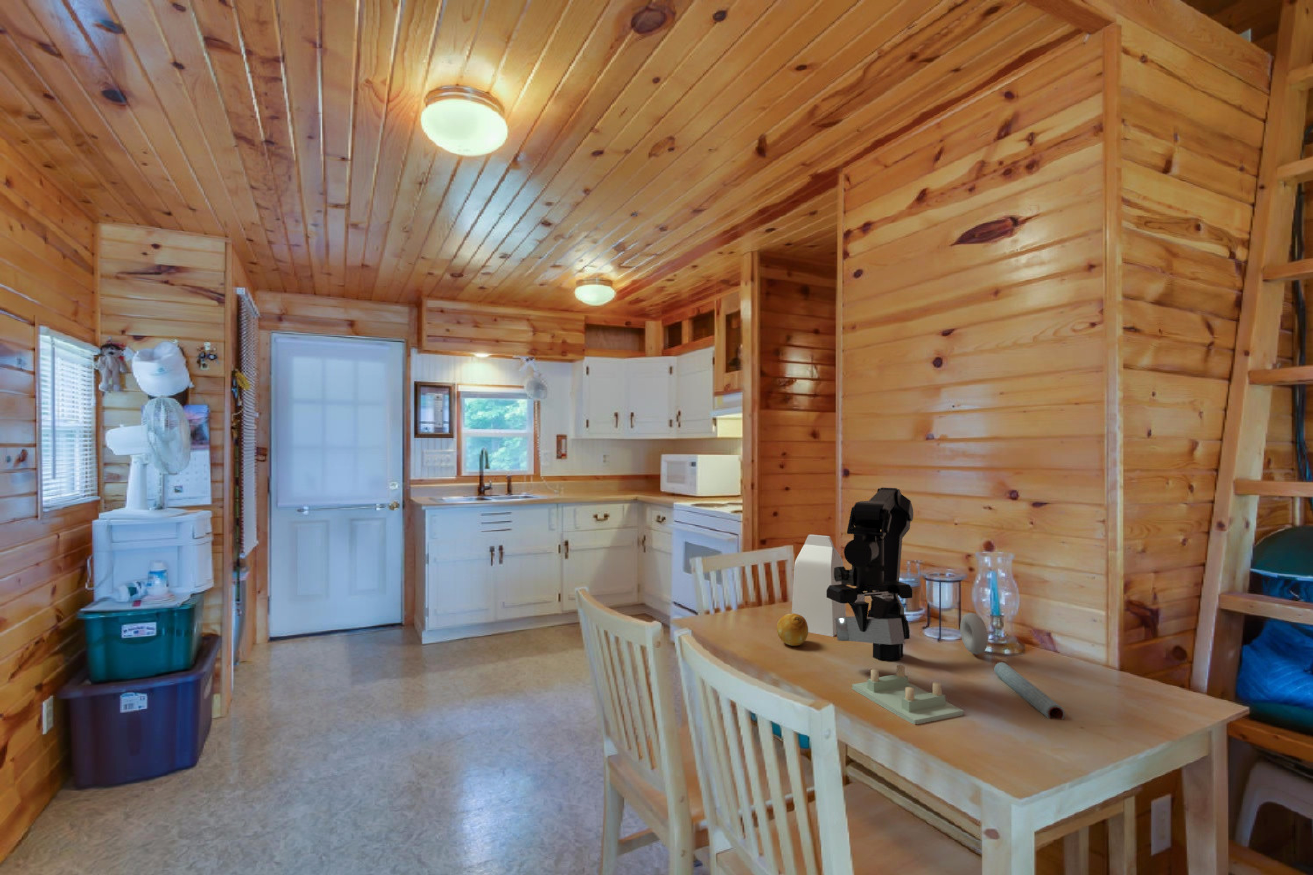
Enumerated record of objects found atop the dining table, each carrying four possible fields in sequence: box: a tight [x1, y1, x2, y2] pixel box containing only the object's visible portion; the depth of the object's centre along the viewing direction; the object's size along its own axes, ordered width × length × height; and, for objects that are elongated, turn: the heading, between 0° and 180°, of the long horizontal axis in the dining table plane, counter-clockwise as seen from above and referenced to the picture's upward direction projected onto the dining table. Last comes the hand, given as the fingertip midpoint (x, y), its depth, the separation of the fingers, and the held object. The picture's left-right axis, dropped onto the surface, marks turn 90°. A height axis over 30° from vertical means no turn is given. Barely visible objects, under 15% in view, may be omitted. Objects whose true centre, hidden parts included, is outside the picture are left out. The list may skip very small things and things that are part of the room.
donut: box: [959, 612, 989, 655], centre depth 155 cm, size 10×4×10 cm, turn 178°
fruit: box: [776, 612, 809, 647], centre depth 162 cm, size 8×8×8 cm
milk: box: [791, 534, 847, 638], centre depth 176 cm, size 12×12×26 cm
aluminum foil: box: [993, 661, 1066, 720], centre depth 130 cm, size 23×7×3 cm, turn 175°
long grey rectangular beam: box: [835, 615, 906, 645], centre depth 138 cm, size 5×20×5 cm, turn 18°
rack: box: [851, 664, 964, 725], centre depth 127 cm, size 12×18×5 cm, turn 21°
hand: (869, 630), depth 137 cm, fingers closed on long grey rectangular beam, 3 cm apart
